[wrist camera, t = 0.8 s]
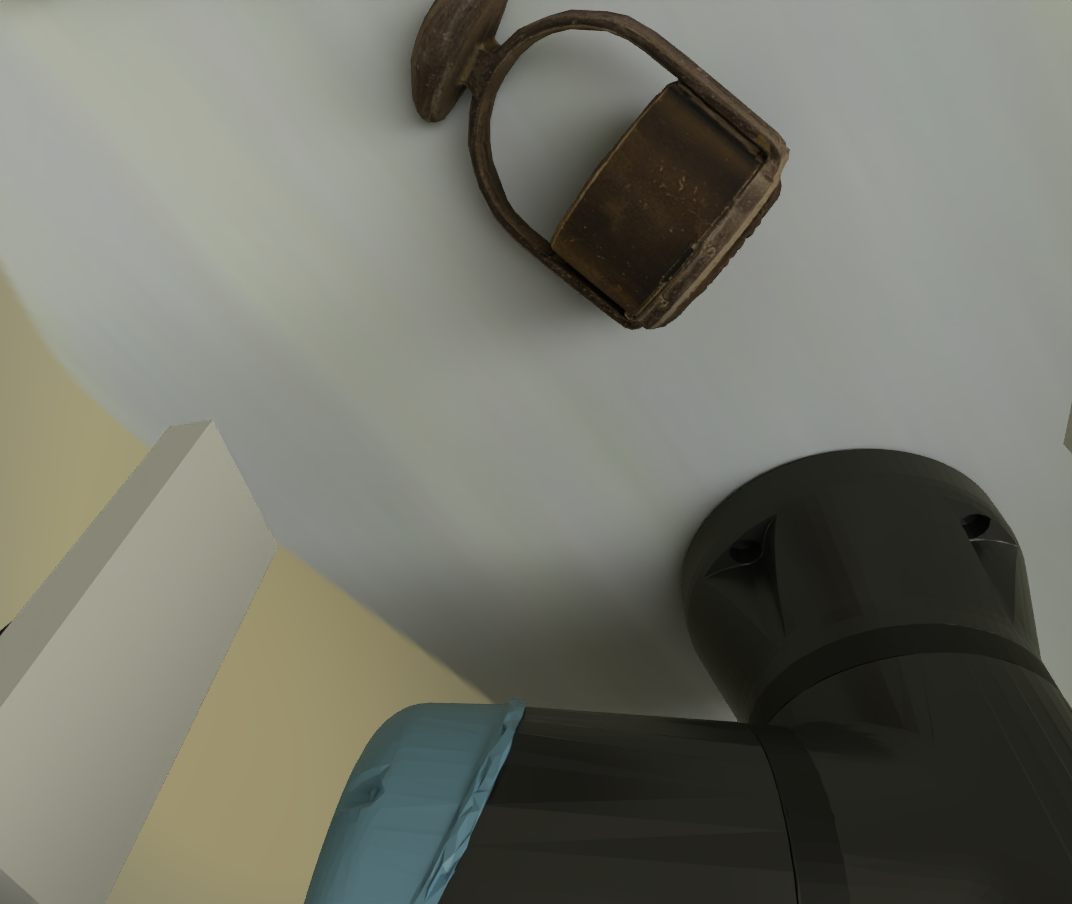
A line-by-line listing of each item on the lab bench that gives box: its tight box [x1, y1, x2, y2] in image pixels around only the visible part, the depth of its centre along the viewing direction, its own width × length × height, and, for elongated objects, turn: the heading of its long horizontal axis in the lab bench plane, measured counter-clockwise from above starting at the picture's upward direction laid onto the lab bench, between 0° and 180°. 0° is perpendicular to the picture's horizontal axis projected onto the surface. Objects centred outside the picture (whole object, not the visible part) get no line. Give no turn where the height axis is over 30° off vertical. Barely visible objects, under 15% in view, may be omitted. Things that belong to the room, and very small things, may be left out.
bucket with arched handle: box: [411, 0, 790, 330], centre depth 25 cm, size 7×13×10 cm
